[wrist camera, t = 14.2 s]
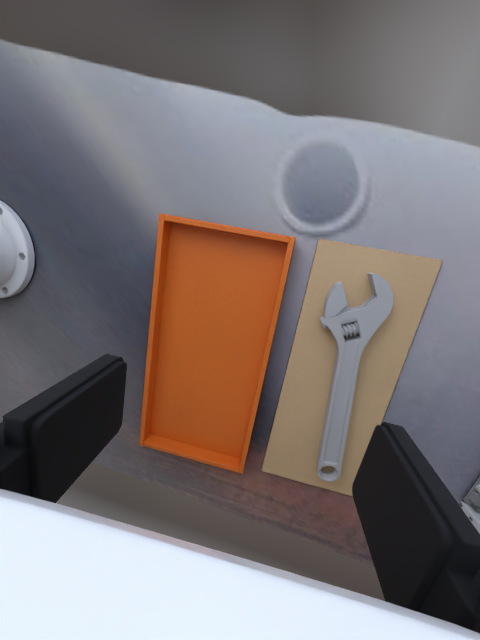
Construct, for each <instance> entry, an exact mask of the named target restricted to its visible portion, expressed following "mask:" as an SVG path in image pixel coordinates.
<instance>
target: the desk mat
mask: <svg viewBox="0 0 480 640" xmlns="http://www.w3.org/2000/svg"><path fill="white" fill-rule="evenodd" d="M442 261H443V260H437V259H432V258H426V257H420V256H415V255H409V254H403V253H398V252H392V251H386V250H381V249H375V248H369V247H364V246H358V245H352V244H347V243H341V242H335V241H330V240H324V239H319V241H318V245H317V249H316V253H315V257H314V261H313V265H312V269H311V273H310V277H309V281H308V285H307V289H306V293H305V297H304V301H303V305H302V309H301V313H300V317H299V321H298V325H297V329H296V333H295V337H294V341H293V345H292V350H291V354H290V358H289V362H288V366H287V370H286V374H285V378H284V382H283V386H282V390H281V394H280V398H279V402H278V406H277V410H276V414H275V418H274V422H273V426H272V430H271V434H270V438H269V442H268V446H267V450H266V454H265V459H264V463H263V467H262V471H264V472H267V473H271V474H274V475H278V476H282V477H285V478H289V479H292V480H296V481H299V482H303V483H307V484H310V485H314V486H317V487H321V488H325V489H328V490H332V491H335V492H339V493H343V494H346V495H350V496H353V495H352V485H353V482H354V479H355V477H356V474H357V472H358V469H359V467H360V464H361V462H362V459H363V457H364V454H365V452H366V449H367V446H368V444H369V441H370V439H371V436H372V434H373V431H374V429H375V427H376V426H377V425H381V422H382V420H383V417H384V415H385V412H386V409H387V407H388V404H389V401H390V399H391V396H392V393H393V391H394V388H395V385H396V383H397V380H398V377H399V375H400V372H401V370H402V367H403V364H404V362H405V359H406V356H407V354H408V351H409V348H410V346H411V343H412V340H413V338H414V335H415V333H416V330H417V327H418V325H419V322H420V319H421V317H422V314H423V311H424V309H425V306H426V303H427V301H428V298H429V296H430V293H431V290H432V288H433V285H434V282H435V280H436V277H437V274H438V272H439V269H440V266H441V264H442ZM368 273H375V274H378V275H380V276H381V277H383V278H384V279H385V280H386V281H387V282H388V284H389V285H390V287H391V289H392V292H393V299H394V301H393V306H392V309H391V312H390V314H389V315H388V317H387V318H386V319H385V320H384V321H383V323H382V324H381V325H380V326H379V327H378V329H377V330H376V331H375V332H374V334H373V335H372V337H371V338H370V340H369V341H368V343H367V344H366V346H365V347H364V349H363V351H362V353H361V357H360V360H359V366H358V372H357V378H356V384H355V390H354V396H353V401H352V407H351V413H350V419H349V425H348V431H347V437H346V443H345V449H344V454H343V460H342V466H341V472H340V476H339V478H338V479H337V480H336V481H334V482H326V481H323V480H322V479H320V477H319V476H318V472H317V465H316V462H317V457H318V451H319V446H320V440H321V435H322V429H323V424H324V418H325V413H326V407H327V402H328V396H329V390H330V385H331V379H332V374H333V368H334V363H335V357H336V349H337V346H336V340H335V337H334V335H333V333H332V331H331V330H330V329H329V328H326V329H323V326H322V322H321V320H320V318H319V317H321V316H323V309H324V302H325V299H326V296H327V294H328V292H329V290H330V289H331V287H332V286H333V285H334V283H337V282H341V283H342V284H343V288H344V292H345V295H346V299H347V303H348V305H347V306H348V307H352V308H353V307H357V306H361V305H362V304H363V303H364V302H365V301H366V300H368V299H369V298H370V297H371V296H372V295H373V294H372V290H371V286H370V282H369V278H368ZM351 323H352V322H351ZM347 324H348V323H347ZM343 325H344V324H343ZM356 335H358V333H356ZM352 336H354V334H352ZM349 337H351V336H350V335H348V338H349ZM345 338H347V337H346V336H344V339H345ZM334 469H335V468H334V467H332V466H324V467H322V468H321V470H323V471H325V472H330V471H333V470H334Z"/></svg>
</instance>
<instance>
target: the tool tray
mask: <svg viewBox="0 0 480 640" xmlns="http://www.w3.org/2000/svg"><path fill="white" fill-rule="evenodd" d="M295 239H296V238H295V237H289V236H283V235H278V234H272V233H267V232H261V231H255V230H250V229H244V228H238V227H233V226H227V225H221V224H216V223H210V222H205V221H199V220H193V219H188V218H182V217H176V216H171V215H165V214H159V224H158V235H157V247H156V258H155V269H154V281H153V292H152V304H151V315H150V326H149V338H148V349H147V360H146V372H145V383H144V395H143V406H142V417H141V429H140V440H139V445H142V446H145V447H149V448H152V449H156V450H159V451H163V452H166V453H170V454H174V455H177V456H181V457H184V458H188V459H191V460H195V461H198V462H202V463H205V464H209V465H213V466H216V467H220V468H223V469H227V470H230V471H234V472H237V473H241V474H243V470H244V466H245V461H246V457H247V452H248V448H249V443H250V439H251V434H252V430H253V426H254V421H255V417H256V412H257V408H258V403H259V399H260V394H261V390H262V385H263V381H264V377H265V372H266V368H267V363H268V359H269V354H270V350H271V345H272V341H273V337H274V332H275V328H276V323H277V319H278V314H279V310H280V305H281V301H282V296H283V292H284V288H285V283H286V279H287V274H288V270H289V265H290V261H291V256H292V252H293V247H294V243H295Z"/></svg>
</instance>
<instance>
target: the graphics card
mask: <svg viewBox="0 0 480 640" xmlns="http://www.w3.org/2000/svg"><path fill="white" fill-rule="evenodd" d="M463 500H464V502H462V501H461V504H462V505H463V507H462V510H463V511H464V513H465V514H466V515H467V517H468V518H469V517H470V516H471V517H472V519H473V522H472V521H471V520H470V519H469V520H470V521H471V522H472V524H473V525H474V526H475V528H476V529H477V531H478V532H479V534H480V477H479V478H478V480H477V481H476V482H475V484H474V485H473V486H472V488H471V489H470V490H469V492H468V493H467V495H466V496H465V497H464V499H463ZM467 500H468V501H467ZM459 506H460V505H459ZM460 507H461V506H460ZM471 507H472V508H471Z"/></svg>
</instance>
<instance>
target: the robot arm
mask: <svg viewBox="0 0 480 640" xmlns="http://www.w3.org/2000/svg"><path fill="white" fill-rule="evenodd" d="M34 260H35V255H34V248H33V244H32V241H31V237H30V235H29V233H28V230H27V228H26V226H25V225H24V223H23V222H22V220H21V219H20V217H19V216H18V215H17V214H16V213H15V212H14V211H13V209H12V208H10V207H9V206H8V205H6V204H5V203H4V202H2V201H0V298H6V297H11V296H14V295H16V294H18V293H20V292H21V291H22V290H23V289H24V288H25V287H26V286H27V284H28V283H29V282H30V279H31V277H32V274H33V270H34ZM126 370H127V364H126V363H125V362H124V361H123V358H122V357H118V356H113V355H109V354H106V355H104V356H102V357H100V358H99V359H97V360H95V361H94V362H92V363H90V364H89V365H87V366H85V367H84V368H82V369H80V370H79V371H77V372H75V373H74V374H72V375H70V376H69V377H67V378H65V379H64V380H62V381H60V382H59V383H57V384H55V385H54V386H52V387H50V388H49V389H47V390H45V391H44V392H42V393H40V394H39V395H37V396H35V397H34V398H32V399H30V400H29V401H27V402H25V403H24V404H22V405H20V406H19V407H17V408H15V409H14V410H12V411H10V412H9V413H7V414H5V415H4V416H3V422H2V423H0V640H480V534H479V532H478V531H477V529H476V528H475V527H474V525H473V524H472V522H471V521H470V520H469V518H468V517H467V515H466V514H465V513H464V511H463V510H462V508H461V507H460V506H459V504H458V503H457V502H456V500H455V499H454V497H453V496H452V495H451V493H450V492H449V490H448V489H447V488H446V486H445V485H444V483H443V482H442V481H441V479H440V478H439V476H438V475H437V474H436V472H435V471H434V470H433V468H432V467H431V465H430V464H429V463H428V461H427V460H426V458H425V457H424V456H423V454H422V453H421V451H420V450H419V449H418V447H417V446H416V444H415V443H414V442H413V440H412V439H411V438H410V436H409V435H408V433H407V432H406V431H405V429H404V428H403V427H402V426H398V425H394V424H390V423H386V422H383V423H382V424H381V425H377V426H376V427H375V429H374V431H373V434H372V436H371V439H370V441H369V444H368V446H367V449H366V452H365V454H364V457H363V459H362V462H361V464H360V467H359V469H358V472H357V474H356V477H355V479H354V482H353V485H352V495H353V498H354V502H355V505H356V508H357V511H358V514H359V518H360V521H361V524H362V527H363V531H364V534H365V537H366V540H367V543H368V547H369V550H370V553H371V556H372V560H373V563H374V566H375V569H376V572H377V576H378V579H379V582H380V585H381V588H382V592H383V595H384V598H385V601H382V600H379V599H376V598H373V597H369V596H366V595H362V594H360V593H356V592H353V591H349V590H346V589H343V588H340V587H337V586H333V585H330V584H327V583H323V582H320V581H317V580H314V579H310V578H307V577H303V576H300V575H297V574H294V573H290V572H287V571H284V570H280V569H277V568H274V567H271V566H267V565H264V564H261V563H257V562H254V561H250V560H247V559H244V558H241V557H237V556H234V555H230V554H227V553H224V552H220V551H217V550H214V549H210V548H207V547H204V546H200V545H197V544H194V543H190V542H186V541H183V540H180V539H177V538H173V537H170V536H167V535H163V534H159V533H156V532H153V531H150V530H146V529H142V528H139V527H136V526H132V525H129V524H125V523H122V522H119V521H115V520H112V519H108V518H105V517H101V516H98V515H94V514H91V513H87V512H84V511H81V510H77V509H74V508H70V507H67V506H63V505H59V504H56V502H57V501H58V500H59V499H60V497H61V496H62V495H63V494H64V493H65V492H66V490H67V489H68V488H69V487H70V486H71V485H72V484H73V483H74V481H75V480H76V479H77V478H78V477H79V476H80V475H81V473H82V472H83V471H84V470H85V469H86V468H87V467H88V465H89V464H90V463H91V462H92V461H93V460H94V459H95V458H96V456H97V455H98V454H99V453H100V452H101V451H102V450H103V448H104V447H105V446H106V445H107V444H108V443H109V442H110V441H111V439H112V438H113V437H114V436H115V435H116V434H117V432H118V431H119V429H120V427H121V425H122V418H123V406H124V394H125V382H126Z"/></svg>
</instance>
